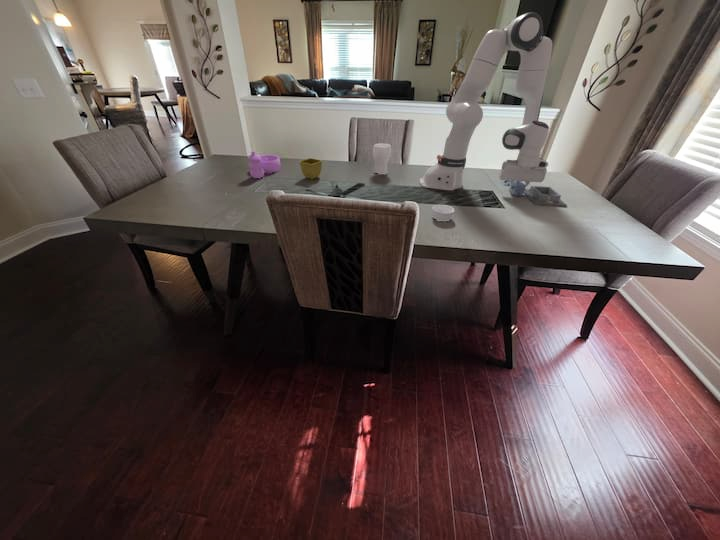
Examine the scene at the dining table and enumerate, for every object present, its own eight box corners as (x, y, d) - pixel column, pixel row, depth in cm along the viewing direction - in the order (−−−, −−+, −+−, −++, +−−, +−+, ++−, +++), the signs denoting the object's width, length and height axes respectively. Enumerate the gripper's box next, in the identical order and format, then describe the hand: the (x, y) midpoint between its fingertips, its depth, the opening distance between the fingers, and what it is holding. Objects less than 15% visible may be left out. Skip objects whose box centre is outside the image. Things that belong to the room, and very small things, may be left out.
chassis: (534, 205, 130) (537, 197, 127) (520, 190, 144) (523, 183, 142) (566, 206, 129) (570, 198, 126) (549, 192, 143) (552, 184, 141)
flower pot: (323, 177, 157) (322, 160, 151) (313, 181, 151) (311, 164, 145) (311, 174, 160) (309, 157, 155) (301, 178, 154) (299, 161, 149)
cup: (372, 169, 169) (373, 142, 160) (390, 170, 168) (392, 143, 159) (370, 175, 160) (371, 147, 151) (389, 176, 159) (391, 148, 150)
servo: (514, 196, 137) (518, 184, 133) (508, 188, 145) (511, 177, 141) (522, 196, 137) (527, 185, 133) (516, 189, 145) (520, 178, 141)
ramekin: (429, 213, 122) (430, 203, 119) (449, 213, 121) (451, 204, 119) (432, 222, 114) (434, 213, 112) (454, 223, 114) (456, 213, 112)
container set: (261, 165, 173) (256, 142, 165) (284, 166, 171) (281, 143, 164) (242, 178, 153) (235, 153, 145) (268, 180, 152) (264, 154, 144)
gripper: (506, 161, 130) (496, 190, 138) (552, 163, 128) (540, 193, 136) (502, 157, 135) (493, 185, 143) (546, 160, 133) (535, 188, 141)
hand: (516, 189), depth 140 cm, fingers closed on servo, 4 cm apart
